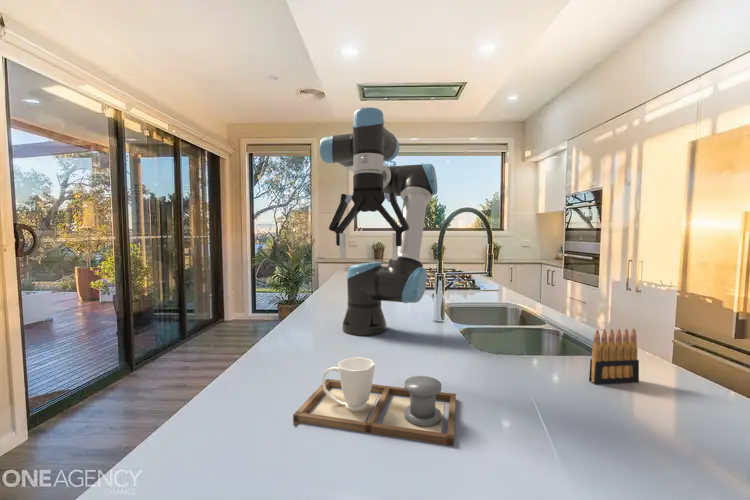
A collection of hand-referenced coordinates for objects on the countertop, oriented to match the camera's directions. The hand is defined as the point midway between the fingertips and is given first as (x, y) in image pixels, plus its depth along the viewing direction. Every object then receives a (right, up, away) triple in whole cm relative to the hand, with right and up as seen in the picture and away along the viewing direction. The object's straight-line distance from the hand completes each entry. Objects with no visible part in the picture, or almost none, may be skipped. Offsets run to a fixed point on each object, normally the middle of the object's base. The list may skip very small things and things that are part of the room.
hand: (368, 259), depth 85 cm
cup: (-3, -27, -21) cm, 35 cm away
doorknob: (+10, -27, -25) cm, 38 cm away
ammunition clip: (+55, -27, -9) cm, 62 cm away
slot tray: (+2, -28, -23) cm, 36 cm away
